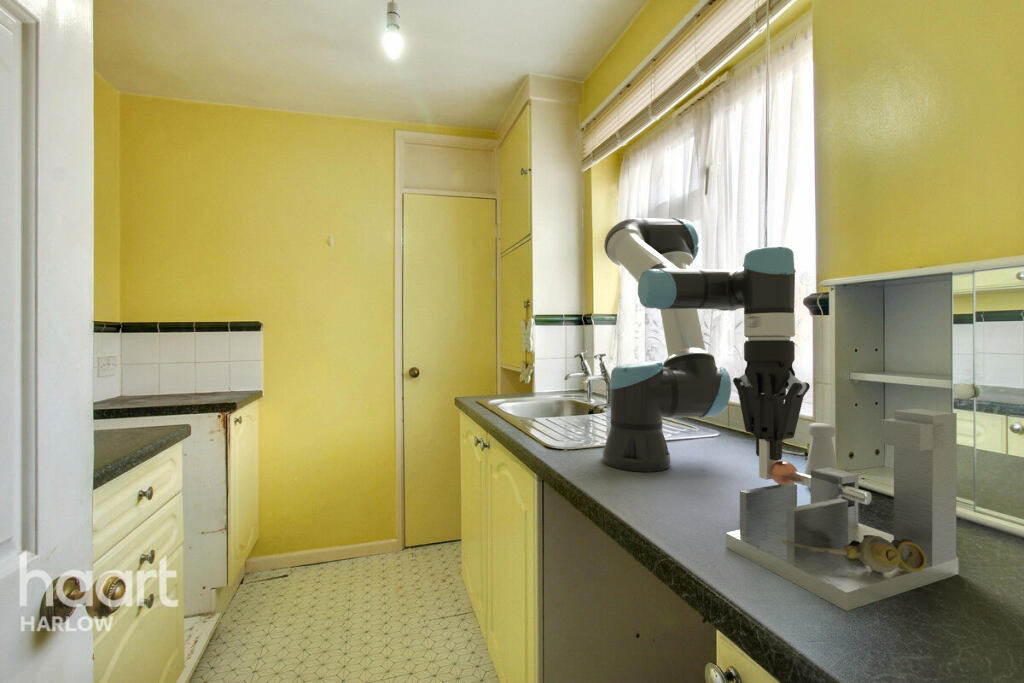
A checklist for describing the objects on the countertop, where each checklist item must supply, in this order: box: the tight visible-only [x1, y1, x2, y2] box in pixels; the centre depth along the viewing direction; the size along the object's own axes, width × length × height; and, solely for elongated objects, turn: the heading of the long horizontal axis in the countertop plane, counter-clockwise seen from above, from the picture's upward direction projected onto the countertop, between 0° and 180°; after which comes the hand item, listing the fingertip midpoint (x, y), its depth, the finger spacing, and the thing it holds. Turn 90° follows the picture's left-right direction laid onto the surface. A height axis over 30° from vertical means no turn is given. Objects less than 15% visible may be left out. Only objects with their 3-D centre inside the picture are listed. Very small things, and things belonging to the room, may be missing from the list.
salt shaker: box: [804, 422, 839, 491], centre depth 86 cm, size 6×6×13 cm
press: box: [725, 408, 959, 612], centre depth 59 cm, size 16×21×20 cm
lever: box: [770, 460, 872, 506], centre depth 69 cm, size 14×4×4 cm, turn 21°
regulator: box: [782, 535, 927, 573], centre depth 54 cm, size 8×4×15 cm
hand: (768, 477), depth 77 cm, fingers closed
